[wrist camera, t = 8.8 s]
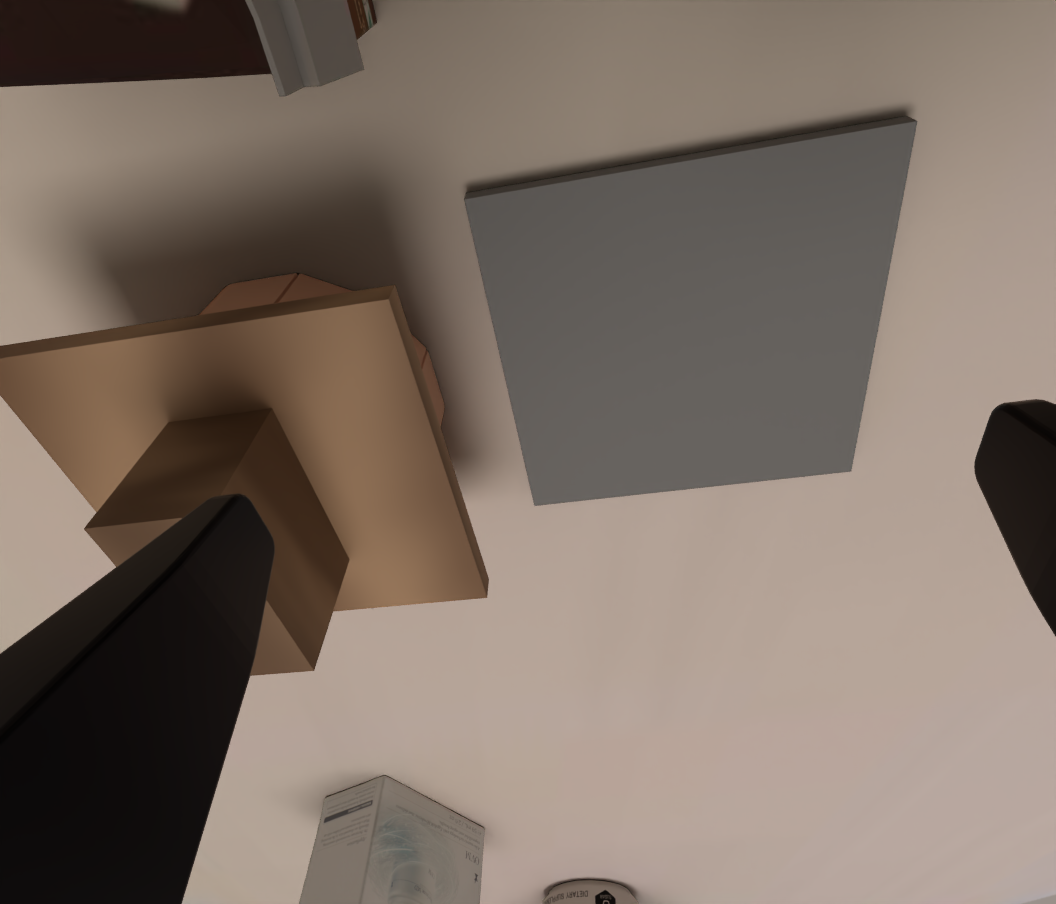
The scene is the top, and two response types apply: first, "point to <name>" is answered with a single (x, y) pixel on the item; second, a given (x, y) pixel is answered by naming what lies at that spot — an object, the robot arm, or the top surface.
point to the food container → (181, 40)
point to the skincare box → (393, 850)
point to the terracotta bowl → (306, 288)
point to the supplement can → (589, 893)
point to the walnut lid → (264, 450)
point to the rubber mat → (694, 310)
